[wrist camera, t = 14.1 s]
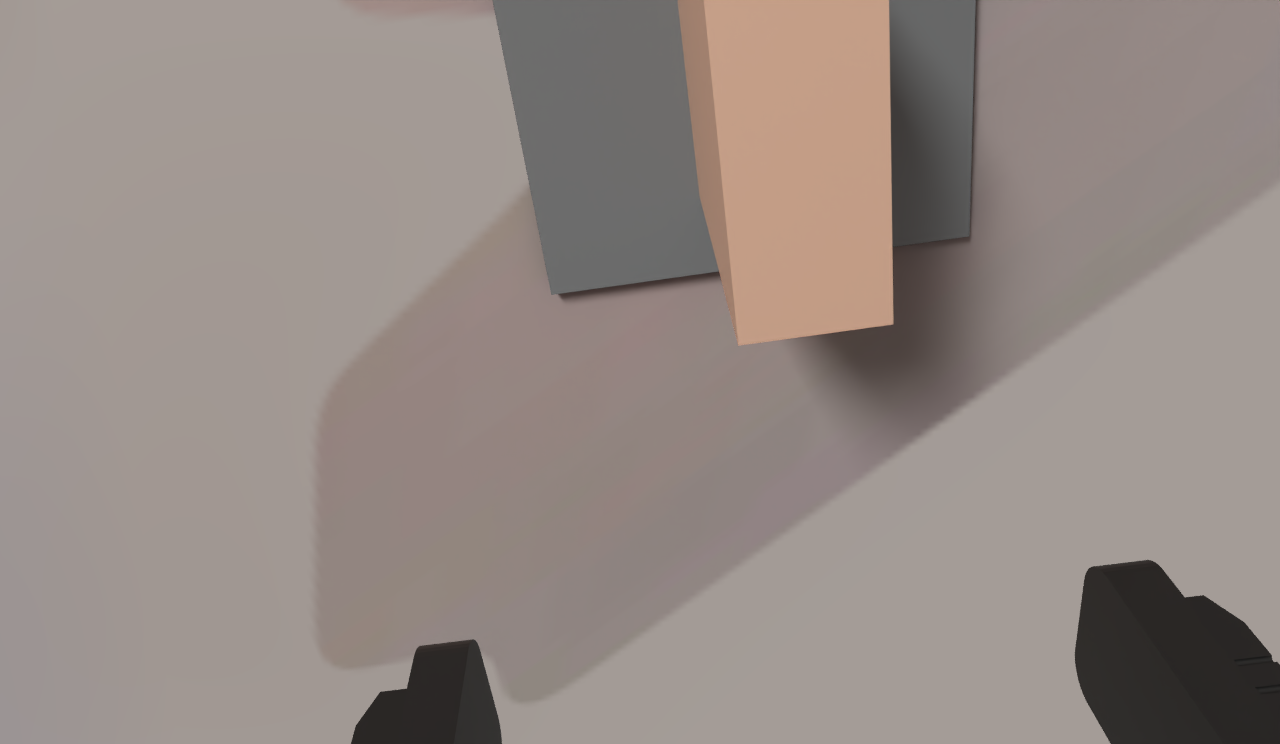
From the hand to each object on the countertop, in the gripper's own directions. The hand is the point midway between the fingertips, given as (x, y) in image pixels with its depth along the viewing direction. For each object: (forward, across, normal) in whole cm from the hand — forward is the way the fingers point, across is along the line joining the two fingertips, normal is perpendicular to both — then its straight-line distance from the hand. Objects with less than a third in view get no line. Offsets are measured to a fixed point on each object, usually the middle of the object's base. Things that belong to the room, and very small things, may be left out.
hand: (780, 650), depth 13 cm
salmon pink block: (+25, -3, -3) cm, 25 cm away
